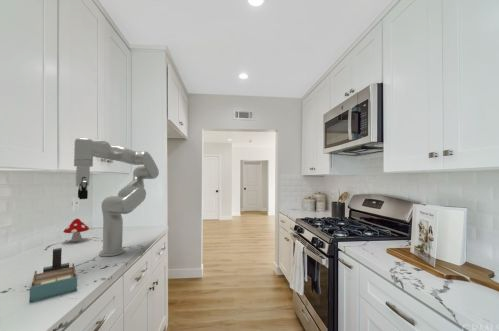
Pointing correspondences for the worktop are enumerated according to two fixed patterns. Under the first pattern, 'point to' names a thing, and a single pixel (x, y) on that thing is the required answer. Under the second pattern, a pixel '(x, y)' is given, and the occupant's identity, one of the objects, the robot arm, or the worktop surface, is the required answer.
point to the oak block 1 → (47, 281)
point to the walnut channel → (53, 275)
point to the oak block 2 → (63, 277)
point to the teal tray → (53, 289)
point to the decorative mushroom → (76, 229)
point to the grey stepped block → (56, 262)
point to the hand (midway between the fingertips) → (82, 198)
